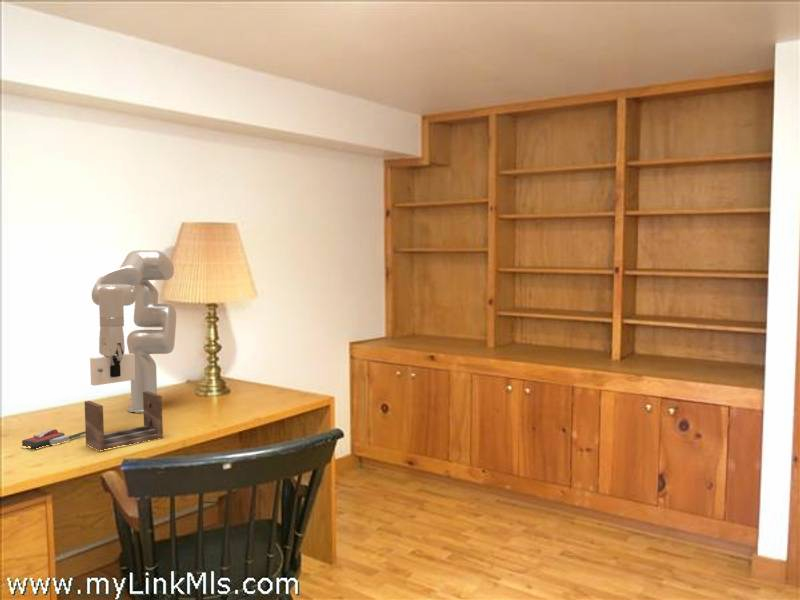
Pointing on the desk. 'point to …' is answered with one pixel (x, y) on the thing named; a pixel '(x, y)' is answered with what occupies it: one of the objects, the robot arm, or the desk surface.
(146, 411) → the brown wooden book rack
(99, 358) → the door panel
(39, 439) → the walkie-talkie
